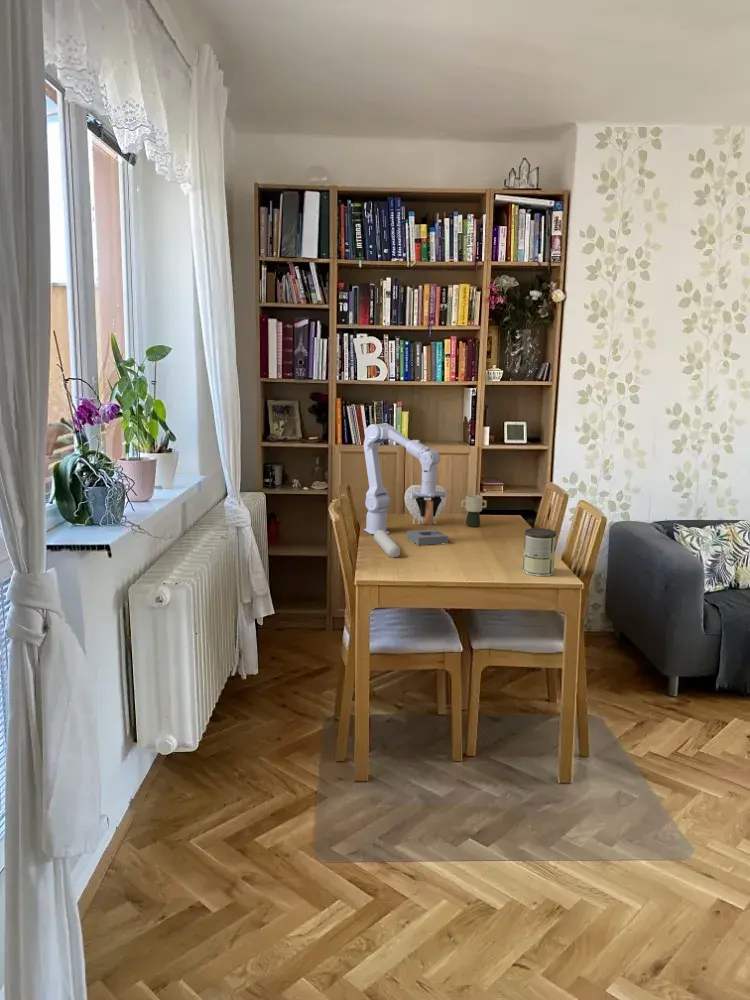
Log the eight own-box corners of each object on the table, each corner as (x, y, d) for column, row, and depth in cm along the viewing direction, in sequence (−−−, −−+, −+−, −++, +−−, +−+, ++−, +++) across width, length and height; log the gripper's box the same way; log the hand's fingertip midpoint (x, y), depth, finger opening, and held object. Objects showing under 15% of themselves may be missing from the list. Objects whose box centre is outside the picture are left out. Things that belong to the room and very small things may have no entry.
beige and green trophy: (483, 524, 332) (484, 494, 330) (487, 527, 325) (488, 497, 323) (458, 524, 331) (459, 494, 329) (462, 527, 324) (463, 497, 322)
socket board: (407, 538, 303) (407, 531, 302) (435, 536, 306) (435, 529, 306) (418, 545, 291) (418, 537, 291) (447, 543, 295) (447, 536, 295)
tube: (404, 548, 272) (389, 531, 296) (390, 543, 270) (376, 527, 294) (399, 562, 272) (384, 544, 296) (385, 557, 271) (371, 540, 295)
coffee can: (518, 568, 262) (520, 528, 260) (547, 568, 263) (550, 527, 261) (528, 576, 252) (530, 534, 250) (558, 576, 253) (561, 534, 251)
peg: (420, 522, 299) (421, 500, 297) (430, 522, 300) (431, 499, 299) (424, 524, 295) (425, 501, 294) (434, 524, 297) (435, 501, 295)
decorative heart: (443, 521, 335) (444, 483, 332) (447, 527, 325) (449, 487, 322) (402, 521, 334) (403, 482, 331) (405, 527, 324) (406, 486, 320)
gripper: (415, 483, 289) (414, 519, 291) (450, 482, 293) (449, 517, 296) (408, 480, 295) (407, 515, 298) (443, 479, 300) (441, 513, 302)
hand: (427, 516), depth 297 cm, fingers closed on peg, 4 cm apart
